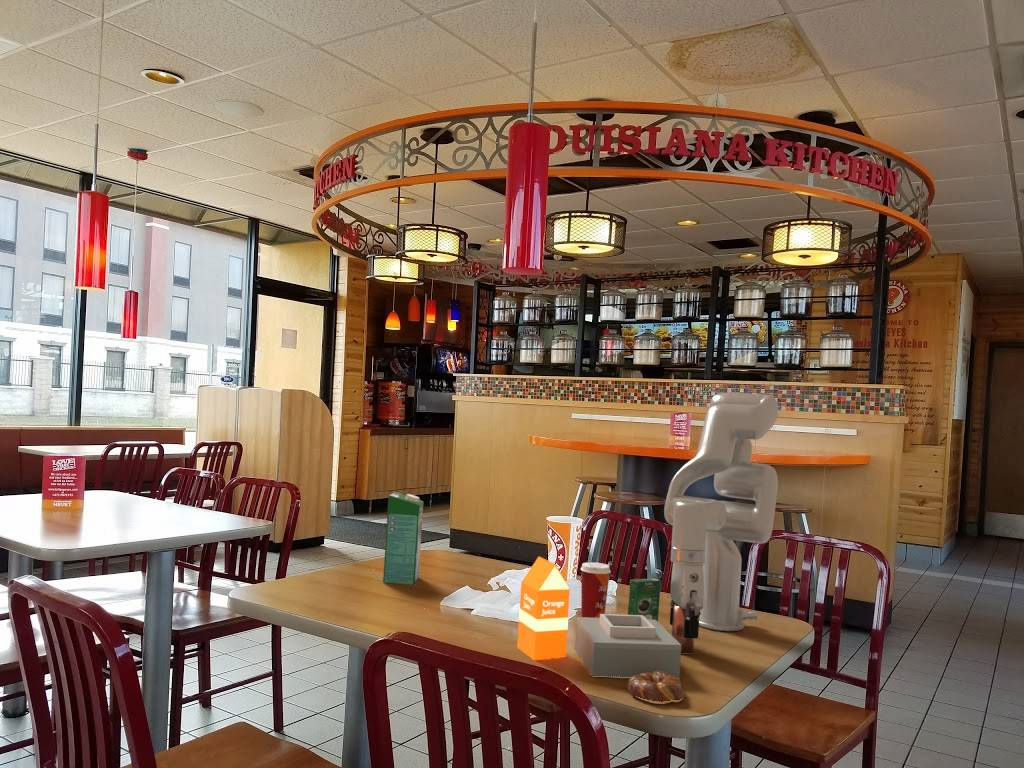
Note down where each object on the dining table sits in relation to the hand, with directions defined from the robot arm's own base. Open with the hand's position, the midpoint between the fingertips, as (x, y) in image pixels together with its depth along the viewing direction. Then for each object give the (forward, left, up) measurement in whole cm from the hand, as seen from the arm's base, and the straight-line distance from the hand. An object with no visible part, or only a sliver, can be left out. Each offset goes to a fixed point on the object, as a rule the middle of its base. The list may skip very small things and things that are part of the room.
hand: (683, 631), depth 179 cm
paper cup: (+16, -22, -4) cm, 28 cm away
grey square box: (+16, +10, -4) cm, 19 cm away
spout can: (0, 0, -4) cm, 4 cm away
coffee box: (+6, -12, -5) cm, 14 cm away
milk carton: (+65, -58, -4) cm, 87 cm away
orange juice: (+33, +4, -5) cm, 34 cm away
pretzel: (+14, +27, -5) cm, 31 cm away
